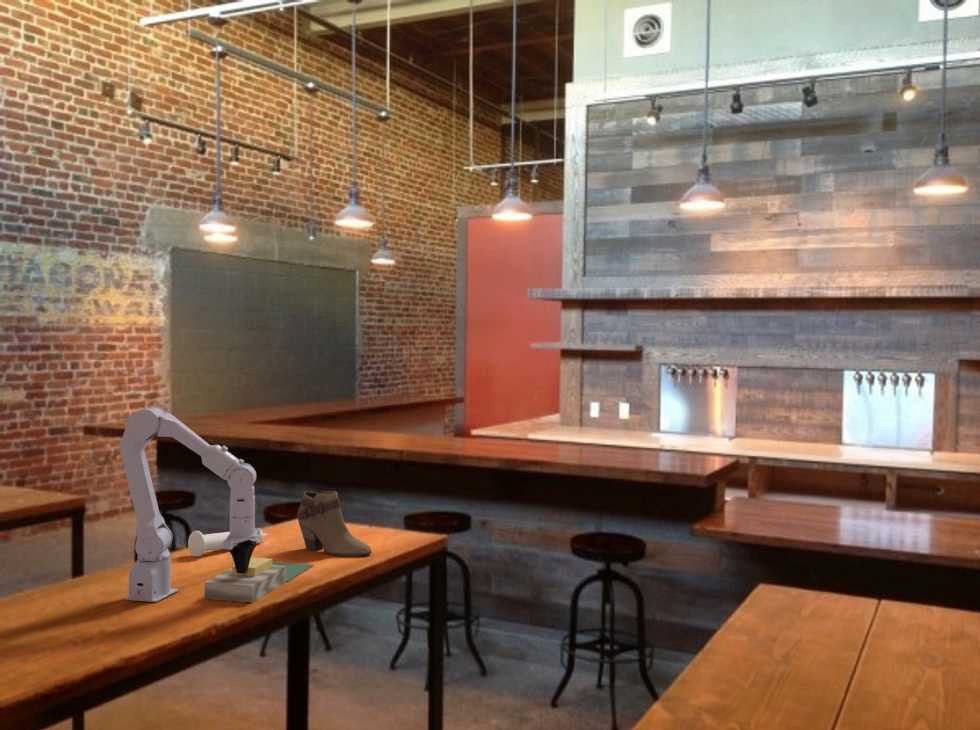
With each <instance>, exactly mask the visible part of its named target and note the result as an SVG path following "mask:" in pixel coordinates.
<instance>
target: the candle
mask: <svg viewBox="0 0 980 730" xmlns="http://www.w3.org/2000/svg"><path fill="white" fill-rule="evenodd" d="M229 534H230V531H225V532H216V533H209V534H208V533H207V534H203V532H201V531H199V530H194V531H192V532H191V533H190V534H189V537H188V540H187V548H188V551H189V553H190V554H191V555H192V556H193V557H194V556H197V557H196V558H199V557H201V556H202V555H203V554H204V553H205V552H208V551H209V552H210V551H215V550H224V549H223V541H224V540H226V538H227V537H228V535H229ZM267 536H268V533H264V532H263V530H262V529H261V528H260V536H259V538H257V539H251V541H256V542H257V545H258V543H259V544H261V543H262V542H263V540H264V538H265V537H267Z"/></svg>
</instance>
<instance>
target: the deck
mask: <svg viewBox="0 0 980 730" xmlns="http://www.w3.org/2000/svg"><path fill="white" fill-rule="evenodd" d="M286 583H287V582H286V566H279V565H272V567H271V568H269V569H268V570H266V571H264V572H262V573H261V574H259V575H257V576H242V575H232V567H230V568H229V569H227V570H225V571H224V572H221V573H219V574H217V575H215V576H214V577H211V578H210V579H208V580H206V581H204V600H208V599H215V600H214V601H220V600H226V601H225V602H232V601H238V602H237V603H244V602H250V603H249V604H254V603H255V602H256V600H257V601H258V600H260V599H262V598H263V597H265V596H266V595H268V594H269V593H271V592H272V591H274V590H276V589H277V588H279V587H280V586H282V585H284V584H286ZM264 595H265V596H264ZM254 601H255V602H254Z"/></svg>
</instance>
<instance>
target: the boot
mask: <svg viewBox="0 0 980 730" xmlns="http://www.w3.org/2000/svg"><path fill="white" fill-rule="evenodd" d="M296 517H297V519H298V525H299V528H300V531H301V534H302V538H303V541H304V545H305V549H306V550H308V551H313V552H317V551H321V550H323V552H325V554H326V555H331V556H341V557H364V556H369V555H371V554H372V547H371V546H370V545H369V544H367V543H366V542H364V541H361V540H360V539H358V538H356V537H355V536H353V534H352V533H351V532H350V530H349V528H348V527H347V525H346V523H345V520H344V517H343V513H342V508H341V501H340V498H339V496H338V492H337V491H335V490H331V491H323V492H321V493H318V492H314V491H308V490H307V491H304V492H303V495H302V497H301V501H300V505H299V508H298V510H297V514H296Z"/></svg>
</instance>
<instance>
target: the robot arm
mask: <svg viewBox="0 0 980 730" xmlns="http://www.w3.org/2000/svg"><path fill="white" fill-rule="evenodd" d="M156 435H157V437H161V438H163V437H164V438H165V437H166V438H172V439H175V440H176V441H178V442H179V443H181V444H182V445H184V446H185V447H187V448H188V449H189V450H191V451H193V453H196V454H197V455H198V456H200V457H201V463H202V465H203V466H204V467H206V468H208V469H209V470H210V471H211V472H212V473H214V474H215V475H217V476H218V477H220V478H221V479H222V480H224V481H227V485H228V487H229V488H230V496H229V532H230V534H229V535H228V537H227V538H226V540H224V541H223V549H222V550H228V552H229V553H230V555H231V557H232V560H233V564H234V565H235V568H236V572H237V573H241V574H245V573H247V570H248V567H249V562H250V559H251V557H252V555H253V553H254V550H255V549H256V547H257V545H258V544H257V542H256V541H251V539H257V538H259V536H260V529H261V528H260V527H256V525H255V522H256V521H255V520H256V514H255V513H256V496H255V493H256V491H255V485H254V484H255V482H256V481H257V472H256V470H255V468H254V466H252V464H249V463H246V462H245V460H243V459H242V458H237V457H236V456H235V455H233V454H232V453H231V452H229V450H228V449H229V448H228V447H227V446H226V445H222V446H221V445H219V444H214V445H213V444H212V445H211V444H209V443H208V442H207V441H205V439H203V438H202V437H201V436H199V435H198V434H197V433H195V432H194V431H193V430H191V428H190V427H188V426H187V425H186V424H184V423H183V422H182V421H180V420H179V419H178V418H177V417H175V416H174V415H173V414H172V413H170V412H166V411H165V410H164V409H163V408H162V407H159V406H155V405H153V406H149V407H147V408H145V409H144V408H143V409H138V410H137V411H135V412H134V413H133V414H132V415H131V416H130V417H129V418H128V419H127V421H126V422H125V428H124V432H123V435H122V437H121V440H120V443H119V451H120V452H119V453H120V456H121V460H122V464H123V468H124V471H125V476H126V481H127V484H128V489H129V492H130V496H131V497H130V498H131V500H132V505H133V509H134V513H135V516H136V527H135V534H136V542H135V548H134V549H135V552H136V554H137V559H136V563H135V564H134V565H133V566H132V567H131V568H130V569H129V573H128V596H126V597H125V598H124V599H125V601H137V602H146V603H147V602H150V603H157V602H159V601H160V600H161V601H162V600H163V599H165V598H166V597H169V596H171V595H173V594H175V593H177V592H178V591H179V589H178V588H171V552H170V550H169V547H170V546H171V545H172V543H173V539H174V537H173V532H172V531H171V529H169V527H168V526H167V524H166V521H165V518H164V517H163V515H161V512H160V510H159V506H158V505H159V504H158V500H157V496H156V492H155V488H154V484H153V480H152V476H151V472H150V467H149V463H148V460H147V456H146V452H145V449H146V447H147V446H148V445H149V443H150V442H151V441H152V439H153V438H154V437H155V436H156Z"/></svg>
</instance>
